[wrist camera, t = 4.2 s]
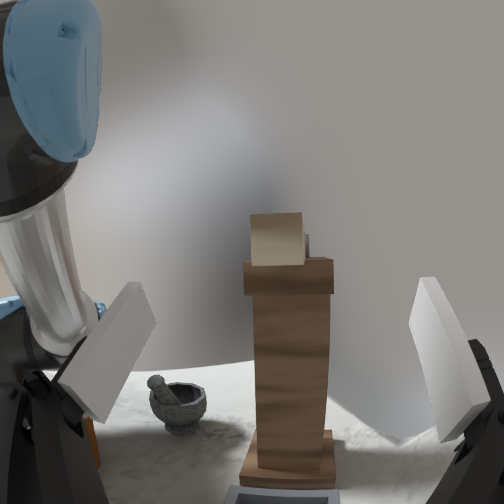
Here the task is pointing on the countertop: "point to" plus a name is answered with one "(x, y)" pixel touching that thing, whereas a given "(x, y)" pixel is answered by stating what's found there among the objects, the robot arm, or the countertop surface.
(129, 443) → the countertop surface
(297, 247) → the bar
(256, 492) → the tray
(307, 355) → the post stand
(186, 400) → the mortar and pestle
